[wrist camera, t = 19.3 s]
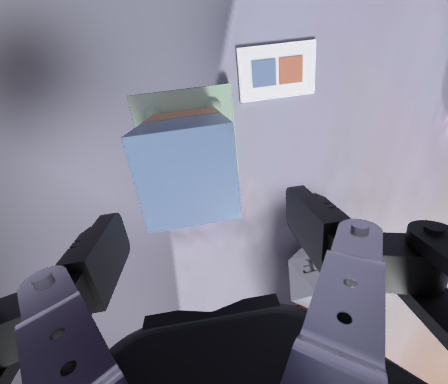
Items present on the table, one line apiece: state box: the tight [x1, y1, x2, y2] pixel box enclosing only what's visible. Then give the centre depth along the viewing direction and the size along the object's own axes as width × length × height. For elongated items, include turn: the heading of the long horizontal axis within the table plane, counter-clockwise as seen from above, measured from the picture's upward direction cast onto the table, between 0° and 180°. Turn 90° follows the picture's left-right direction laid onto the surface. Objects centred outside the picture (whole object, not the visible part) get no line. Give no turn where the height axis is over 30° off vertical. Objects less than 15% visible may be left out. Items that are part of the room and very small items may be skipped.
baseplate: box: [127, 83, 239, 177], centre depth 26 cm, size 10×10×1 cm
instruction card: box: [236, 39, 316, 103], centre depth 24 cm, size 8×5×1 cm, turn 96°
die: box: [288, 247, 320, 308], centre depth 31 cm, size 8×9×10 cm
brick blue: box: [121, 113, 242, 234], centre depth 17 cm, size 6×6×6 cm
